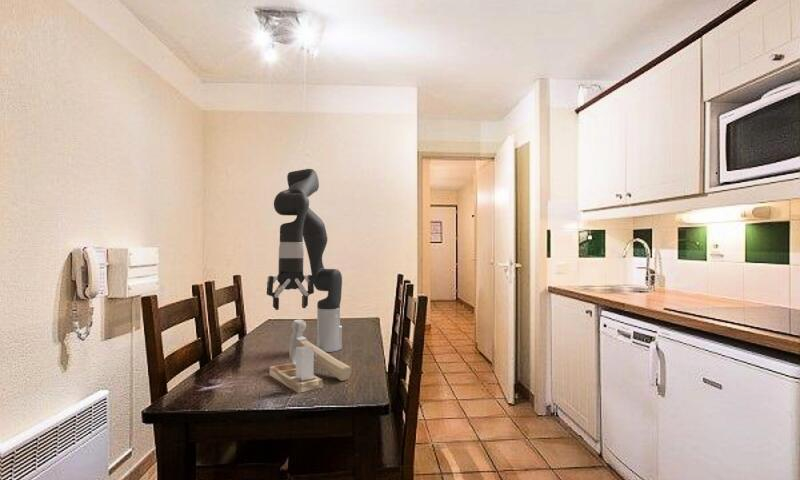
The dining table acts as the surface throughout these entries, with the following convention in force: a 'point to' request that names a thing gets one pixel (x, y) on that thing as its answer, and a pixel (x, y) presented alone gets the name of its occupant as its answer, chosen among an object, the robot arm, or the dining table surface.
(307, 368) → the steel peg
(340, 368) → the hammer
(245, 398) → the dining table surface
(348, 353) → the dining table surface
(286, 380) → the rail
